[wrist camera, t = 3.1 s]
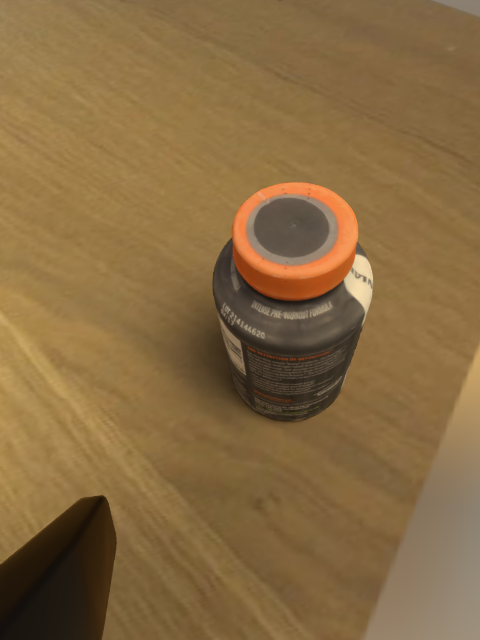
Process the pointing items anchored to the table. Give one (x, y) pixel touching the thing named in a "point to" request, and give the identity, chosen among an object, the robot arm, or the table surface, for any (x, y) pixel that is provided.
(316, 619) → the table surface
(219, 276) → the pill bottle
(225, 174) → the table surface
